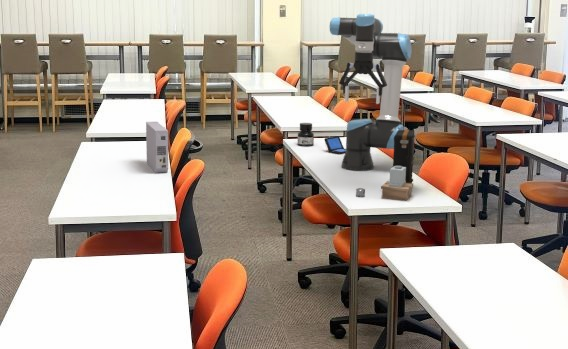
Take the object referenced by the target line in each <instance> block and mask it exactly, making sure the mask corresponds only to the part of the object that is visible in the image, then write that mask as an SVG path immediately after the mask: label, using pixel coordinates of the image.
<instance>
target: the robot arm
mask: <svg viewBox="0 0 568 349" xmlns="http://www.w3.org/2000/svg"><path fill="white" fill-rule="evenodd" d="M383 29H384V24H383V22H382V21H381V20H380V19H378V18H376V17H375V14H371V13H359V14H357V15H356V17H338V16H337V17H332V18H331V19H330V22H329V32H330V34H331V35H333V36H341V37H343V38H344V39H346V40H347V41H348V42H350V43H351V44H353V45H354V48H355V52H354V62H347V64H346V68H345V71H344V73H343V74H342V76H341V78H340V79H339V82H338V84H339V85H341V86H342V93H343V95H344V102H345V103H346V102H347V103H348V102H349V96H350V95H349V94H350V92H349V91H350V86H349V84H350V82H351V81H352V80H353V79H354V78H355V77H356V75H358V74H359V75H368V76H370V78H371V79H372V80H373V81H374V83H375V84H376V86H377V88H376V98H375V101H376V102H375V104H376V105H379V104H380V110H379V116H377V118H375V122H373V121H372V119H371V118H362V119H353V120H350V121H348V122H347V123H346V138H345V139H346V140H345V142H346V143H345V149H346V153H345V154H343V158H342V160H341V168H342V169H344V170H349V171H369V170H373V169H374V161H373V157H372V154H371V148H373V149H386V150H394V136H395V135H396V133H397V131H398V130H405V129H404V125H402V124H401V123H402V121H401V120H400V118H399V110H400V109H399V107H400V100H401V97H400V96H401V89H402V79H403V78H402V77H403V69H404V68H403V67H404V66H405V65H406V64H407V61H408V60H410V59H411V57H412V52H413V50H412V42H411V38H410V36H409V35H408V34H406V33H399V32H398V33H397V32H394V33H393V32H390V33H389V32H388V33H387V32H383ZM374 58H378V59H381V63H382V64H383V66H384V67H383V72H382V69H381V64H380V63H377V64H374V62H373V61H374V60H373V59H374ZM373 68H374V70H375V71H376V73H377V75H378V77H379V78H378V77H377V75H375V73H374V72H373ZM351 69H354V70H353V72H352V73H351V74H350V75H349V73H350V71H351ZM348 75H349V77H348ZM347 77H348V78H347ZM346 78H347V79H346Z"/></svg>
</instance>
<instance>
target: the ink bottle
mask: <svg viewBox="0 0 568 349" xmlns="http://www.w3.org/2000/svg"><path fill="white" fill-rule="evenodd" d="M314 135H315V133H314V132H313V123H311V122H300V123H299V131H298V133H297V145H298V146H299V147H312V146H314V143H315V142H314V138H315V136H314Z"/></svg>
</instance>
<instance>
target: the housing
mask: <svg viewBox="0 0 568 349" xmlns="http://www.w3.org/2000/svg"><path fill="white" fill-rule="evenodd" d="M405 178H406V167H402V166H394V167H393V166H392V167H391V168H390V169H389V181H390V184H389V187H398V188H401V187H402V186H403V185H404V184H405V183H406V181H405Z"/></svg>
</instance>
